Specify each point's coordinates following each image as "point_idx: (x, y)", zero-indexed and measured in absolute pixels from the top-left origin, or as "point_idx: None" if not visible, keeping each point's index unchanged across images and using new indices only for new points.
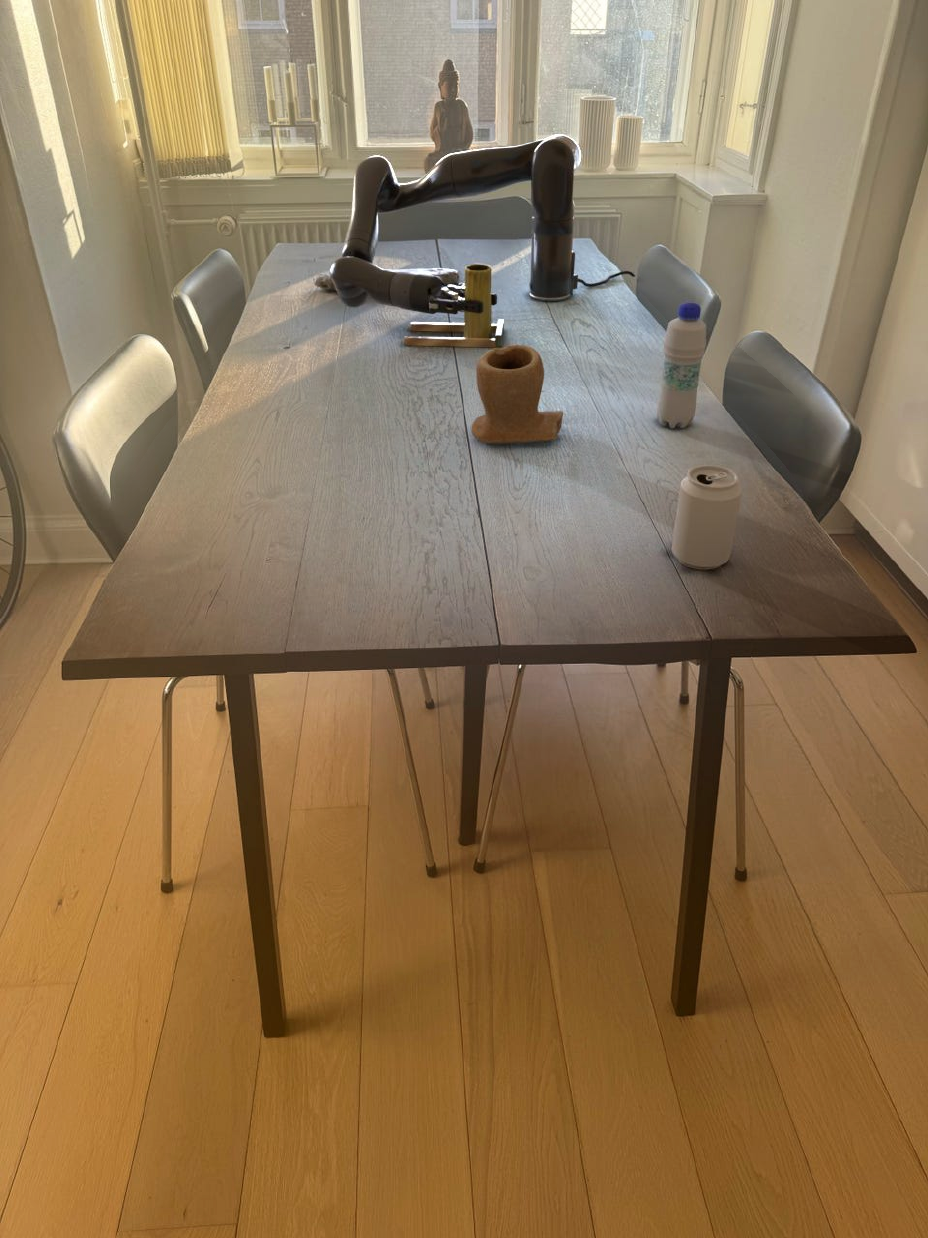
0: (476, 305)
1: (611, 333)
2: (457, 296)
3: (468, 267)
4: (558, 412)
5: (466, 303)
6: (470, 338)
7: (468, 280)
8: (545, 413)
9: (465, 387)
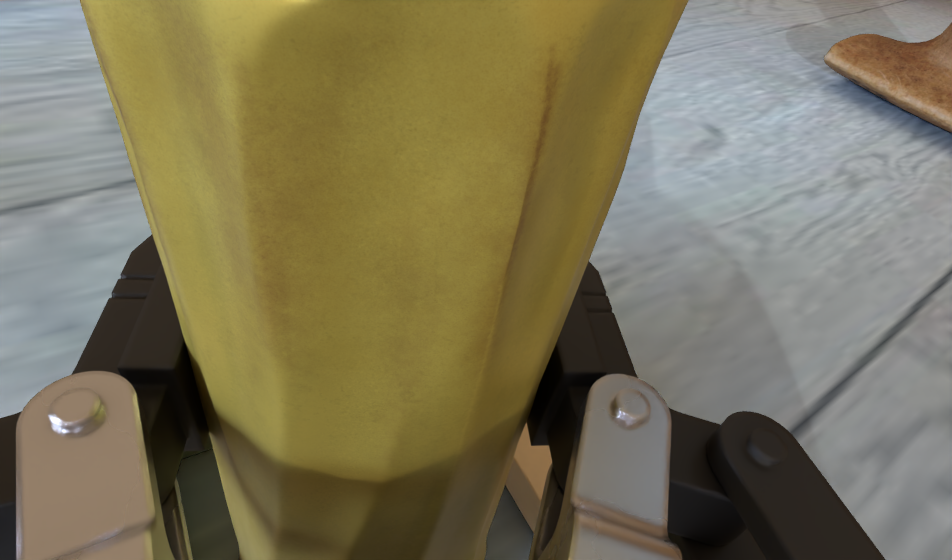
0: (588, 269)
1: (55, 69)
2: (602, 513)
3: (366, 5)
4: (860, 39)
5: (628, 355)
6: (543, 475)
7: (624, 157)
8: (898, 46)
9: (911, 281)
